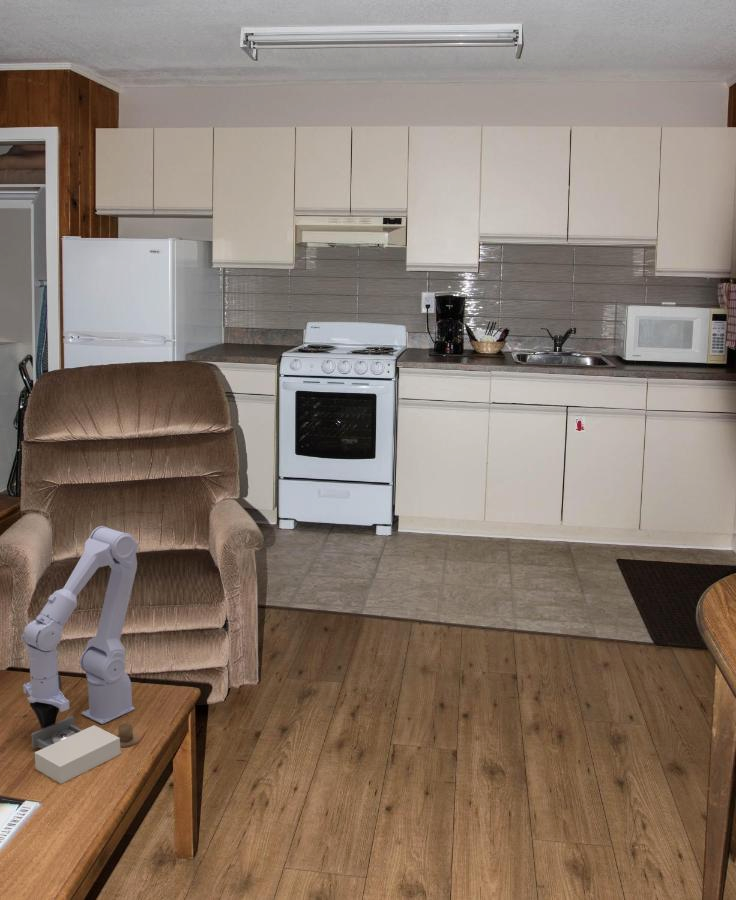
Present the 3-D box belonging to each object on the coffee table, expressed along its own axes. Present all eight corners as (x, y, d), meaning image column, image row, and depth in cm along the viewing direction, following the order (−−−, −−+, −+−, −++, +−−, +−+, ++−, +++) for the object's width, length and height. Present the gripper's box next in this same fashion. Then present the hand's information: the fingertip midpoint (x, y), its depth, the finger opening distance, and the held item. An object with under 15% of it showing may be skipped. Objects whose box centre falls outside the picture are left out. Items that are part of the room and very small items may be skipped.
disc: (67, 733, 210) (66, 727, 210) (80, 740, 207) (80, 734, 207) (47, 742, 206) (46, 736, 206) (60, 749, 203) (60, 743, 203)
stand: (128, 732, 214) (127, 717, 213) (144, 740, 210) (143, 725, 210) (107, 742, 209) (107, 727, 209) (123, 750, 206) (123, 735, 205)
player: (35, 768, 199) (33, 752, 198) (94, 740, 210) (93, 724, 209) (61, 783, 193) (60, 766, 192) (120, 754, 205) (119, 737, 204)
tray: (32, 746, 206) (31, 733, 205) (73, 728, 214) (72, 715, 213) (56, 760, 200) (55, 746, 200) (97, 740, 208) (96, 727, 208)
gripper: (9, 671, 209) (13, 727, 212) (47, 690, 200) (51, 748, 203) (37, 660, 214) (41, 715, 217) (76, 678, 206) (79, 735, 208)
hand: (48, 730), depth 210 cm, fingers closed
